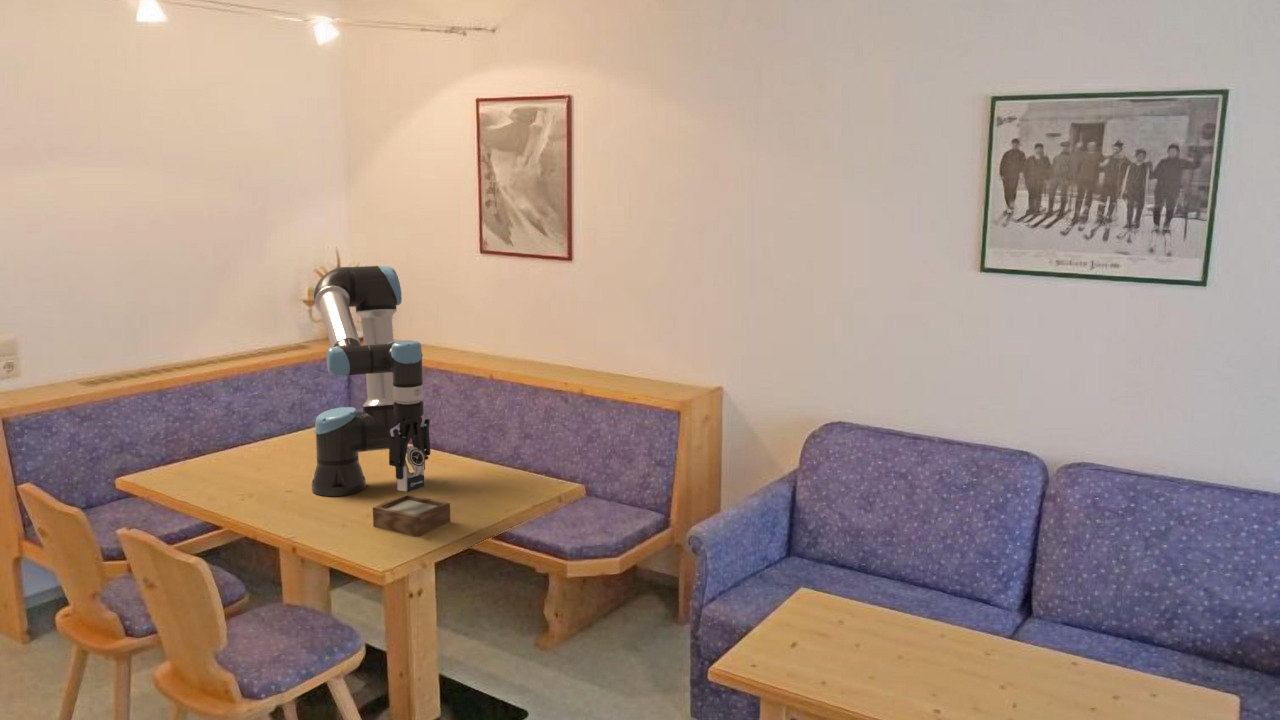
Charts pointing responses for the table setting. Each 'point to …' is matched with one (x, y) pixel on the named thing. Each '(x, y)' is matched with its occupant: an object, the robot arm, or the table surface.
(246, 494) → the table surface
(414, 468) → the watch
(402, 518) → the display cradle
